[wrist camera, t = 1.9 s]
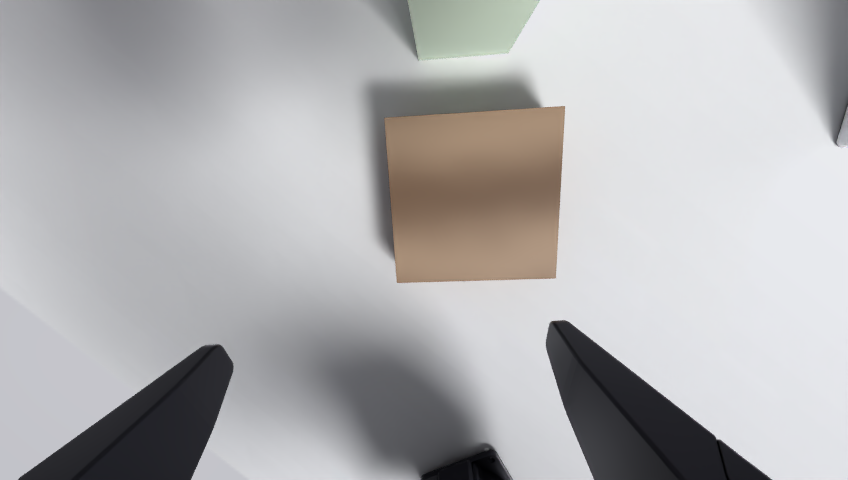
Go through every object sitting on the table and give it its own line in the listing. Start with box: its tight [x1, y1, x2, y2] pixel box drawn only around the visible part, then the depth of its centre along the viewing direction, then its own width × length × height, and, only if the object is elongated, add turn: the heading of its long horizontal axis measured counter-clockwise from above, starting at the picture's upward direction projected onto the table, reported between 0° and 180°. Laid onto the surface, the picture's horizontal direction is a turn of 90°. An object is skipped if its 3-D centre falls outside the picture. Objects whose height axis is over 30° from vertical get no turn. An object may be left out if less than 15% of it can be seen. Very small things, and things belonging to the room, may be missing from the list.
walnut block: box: [384, 106, 565, 283], centre depth 17 cm, size 9×9×3 cm
